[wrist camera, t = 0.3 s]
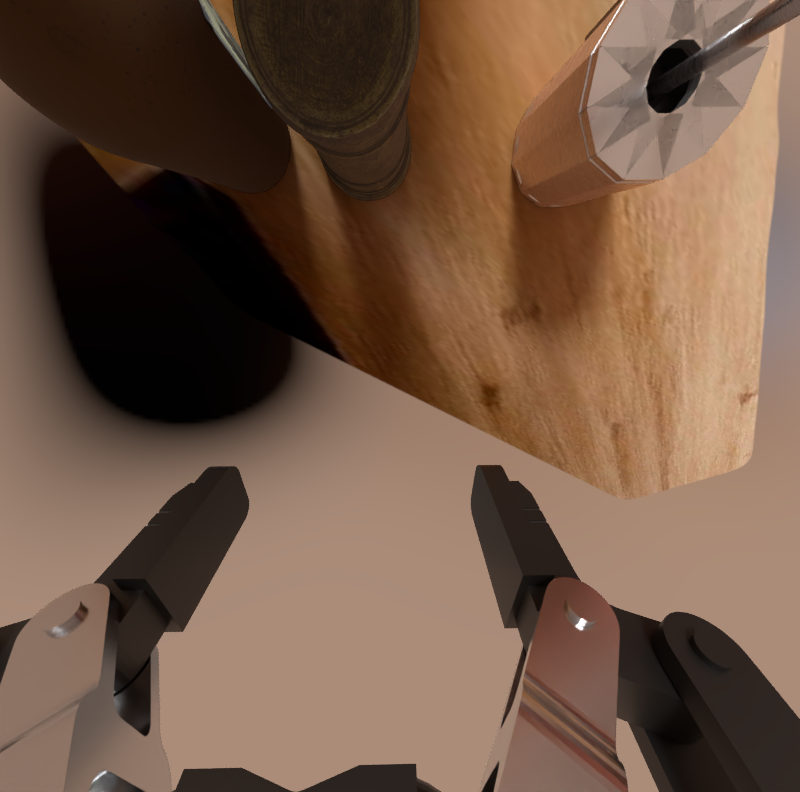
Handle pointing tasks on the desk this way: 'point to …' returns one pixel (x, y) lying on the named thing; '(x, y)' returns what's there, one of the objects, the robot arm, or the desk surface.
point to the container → (339, 81)
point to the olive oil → (146, 85)
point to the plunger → (710, 55)
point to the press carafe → (632, 102)
